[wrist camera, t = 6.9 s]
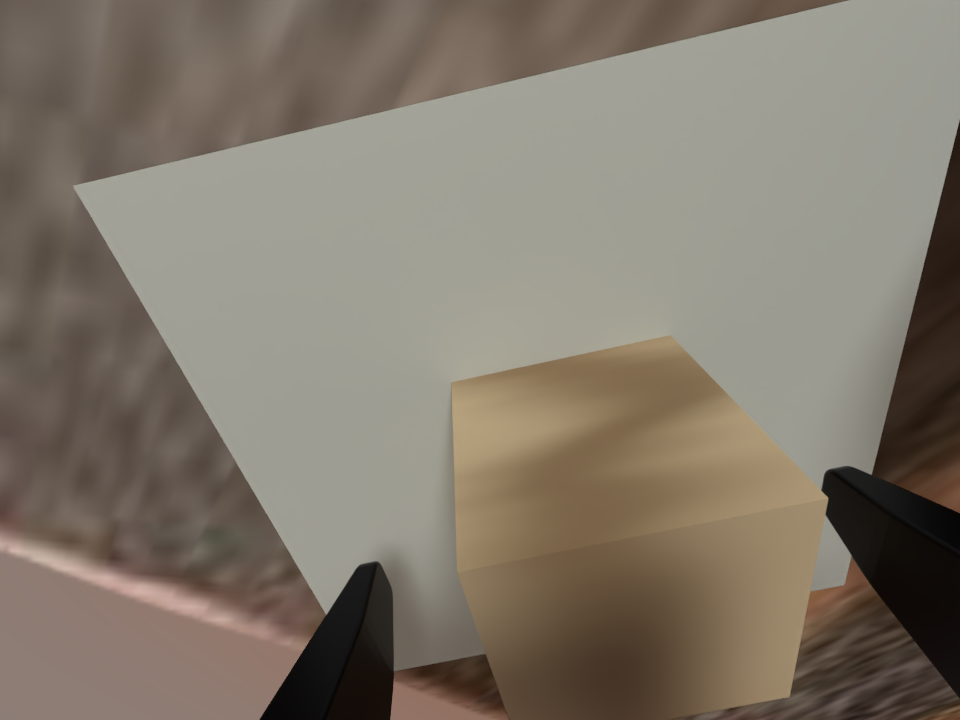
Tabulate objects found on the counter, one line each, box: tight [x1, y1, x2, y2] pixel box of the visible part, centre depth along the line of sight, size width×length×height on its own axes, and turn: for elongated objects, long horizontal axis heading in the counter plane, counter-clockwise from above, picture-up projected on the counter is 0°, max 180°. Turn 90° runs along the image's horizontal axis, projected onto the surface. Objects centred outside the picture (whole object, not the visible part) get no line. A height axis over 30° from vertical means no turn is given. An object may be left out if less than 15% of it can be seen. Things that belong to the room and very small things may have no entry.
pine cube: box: [452, 335, 828, 720], centre depth 10 cm, size 5×5×5 cm
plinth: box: [73, 0, 960, 671], centre depth 13 cm, size 16×16×3 cm
